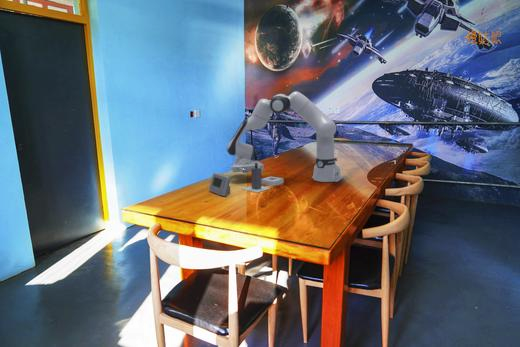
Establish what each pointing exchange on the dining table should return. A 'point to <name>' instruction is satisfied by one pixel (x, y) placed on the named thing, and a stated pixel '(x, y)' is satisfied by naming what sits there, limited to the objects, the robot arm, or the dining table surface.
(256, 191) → the mat
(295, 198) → the dining table surface
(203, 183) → the dining table surface
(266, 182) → the socket block
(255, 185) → the plug
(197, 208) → the dining table surface
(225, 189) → the digital clock
